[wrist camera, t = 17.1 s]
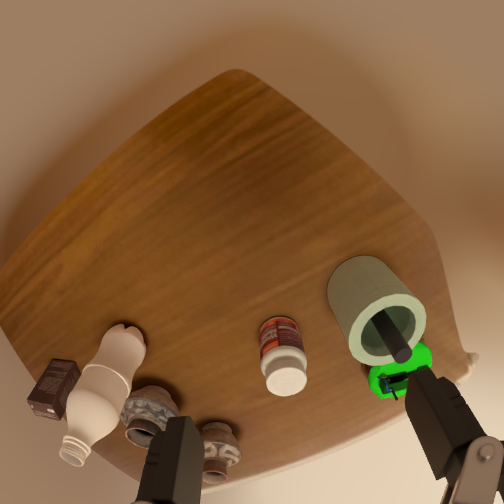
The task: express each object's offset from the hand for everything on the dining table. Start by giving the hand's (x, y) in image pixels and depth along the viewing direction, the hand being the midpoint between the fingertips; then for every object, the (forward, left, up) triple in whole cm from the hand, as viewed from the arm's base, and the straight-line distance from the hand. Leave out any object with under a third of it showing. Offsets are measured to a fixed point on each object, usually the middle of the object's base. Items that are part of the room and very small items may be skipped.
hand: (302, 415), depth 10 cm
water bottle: (+16, -25, -34) cm, 45 cm away
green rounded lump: (+29, +18, -34) cm, 48 cm away
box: (+22, -42, -34) cm, 58 cm away
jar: (+14, +12, -33) cm, 38 cm away
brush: (+15, +12, -33) cm, 38 cm away
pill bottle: (+19, -1, -34) cm, 39 cm away
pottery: (+35, -21, -34) cm, 53 cm away
